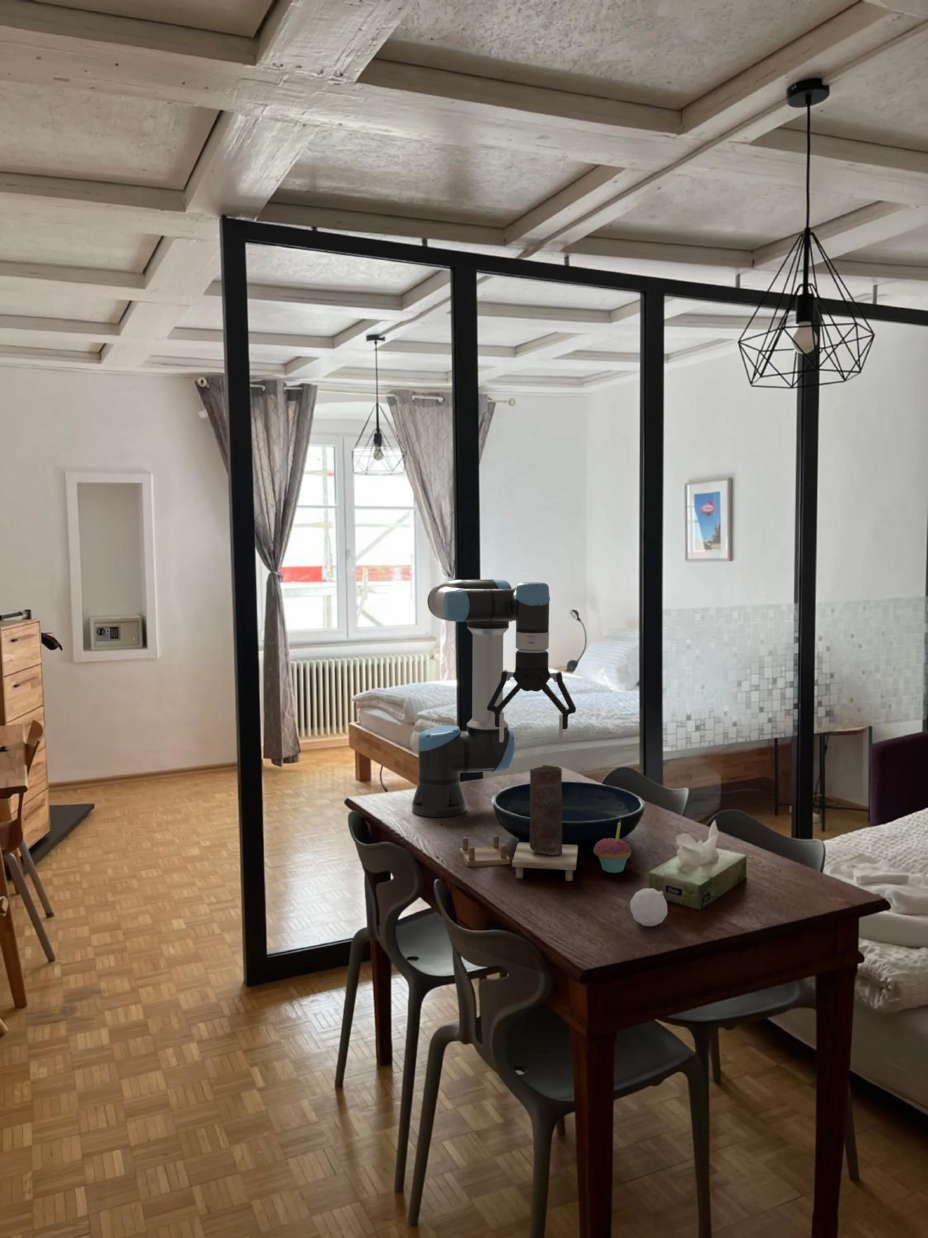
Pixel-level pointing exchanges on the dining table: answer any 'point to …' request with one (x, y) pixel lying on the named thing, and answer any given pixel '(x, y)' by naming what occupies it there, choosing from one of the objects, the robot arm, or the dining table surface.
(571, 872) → the small wooden stool
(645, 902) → the ornament
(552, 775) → the brown wooden log
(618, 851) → the cupcake
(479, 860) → the upturned stool decor
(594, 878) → the dining table surface
